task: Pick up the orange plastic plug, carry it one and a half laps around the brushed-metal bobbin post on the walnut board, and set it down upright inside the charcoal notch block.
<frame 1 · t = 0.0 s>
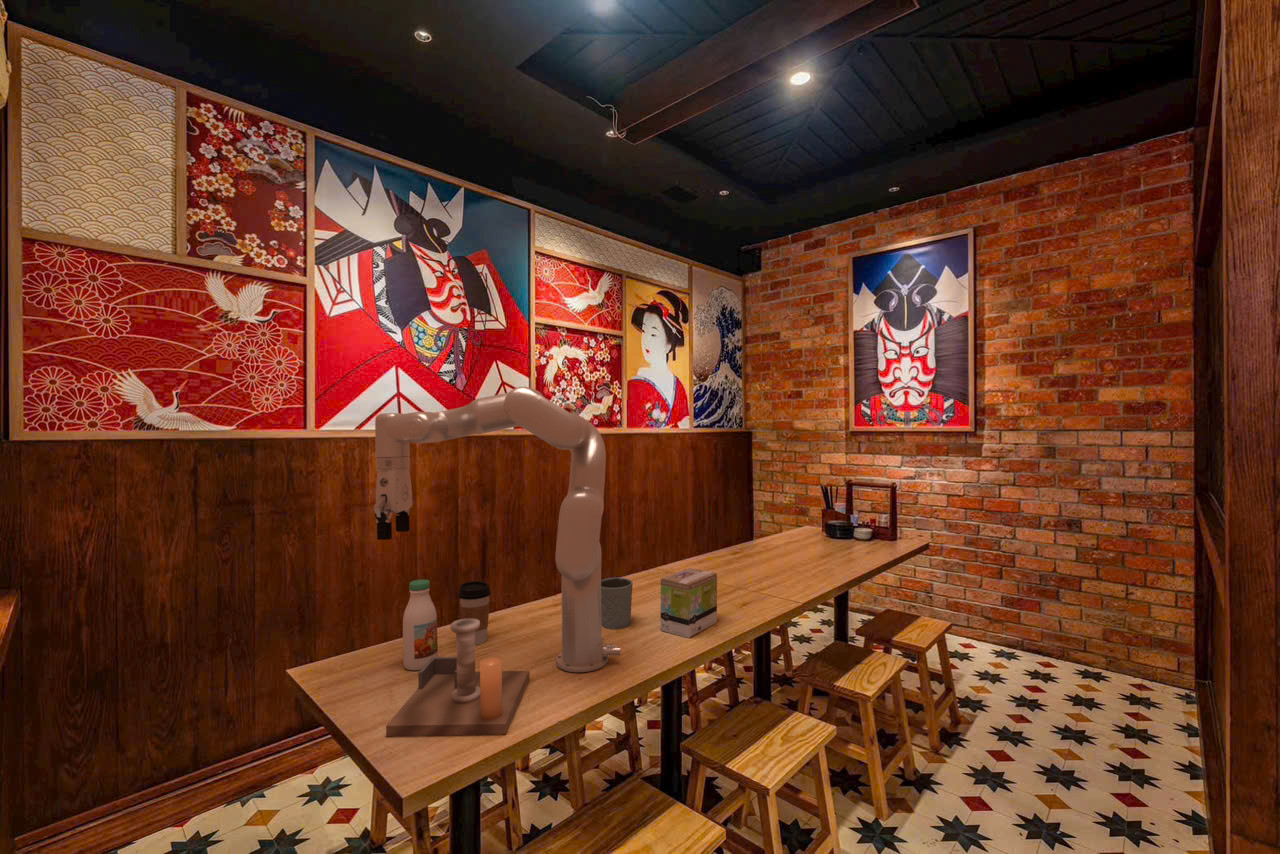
hand: (394, 535, 132), 31 cm above the table, tool pointing down, fingers open, 9 cm apart
coffee cup: (475, 641, 146), on the table
tea box: (689, 627, 154), on the table
plug: (491, 714, 104), point 2 cm above the table, touching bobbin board
milk bottle: (420, 665, 132), on the table
grey green embossed cup: (615, 624, 157), on the table
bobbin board: (464, 705, 112), on the table
notch block: (444, 681, 118), resting on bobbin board
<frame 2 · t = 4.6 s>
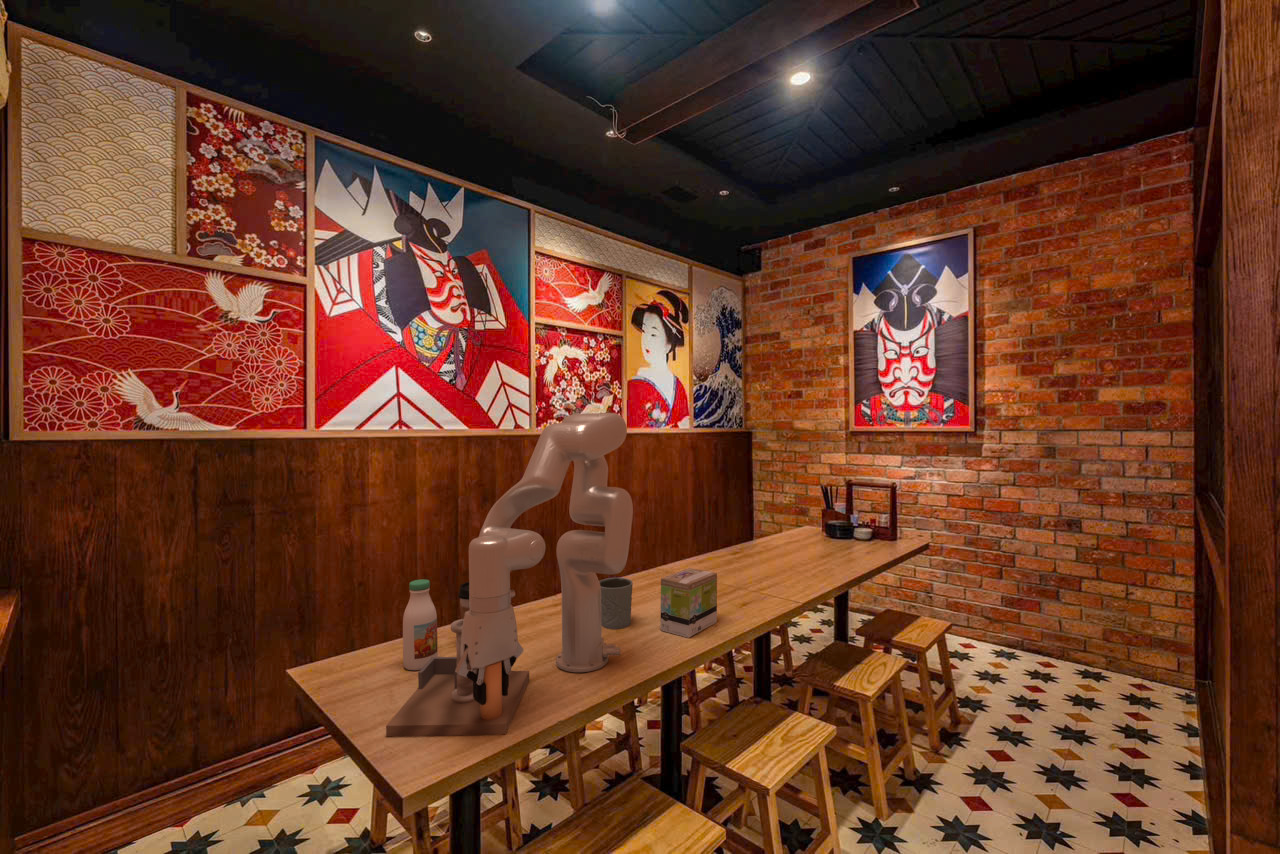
hand: (491, 696, 104), 5 cm above the table, tool pointing down, fingers closed on plug, 4 cm apart
plug: (491, 714, 104), point 2 cm above the table, touching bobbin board, gripper
everything else where it was.
when the fingers open (7 cm above the table, at t = 14.0 s): plug drops 2 cm, resting on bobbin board.
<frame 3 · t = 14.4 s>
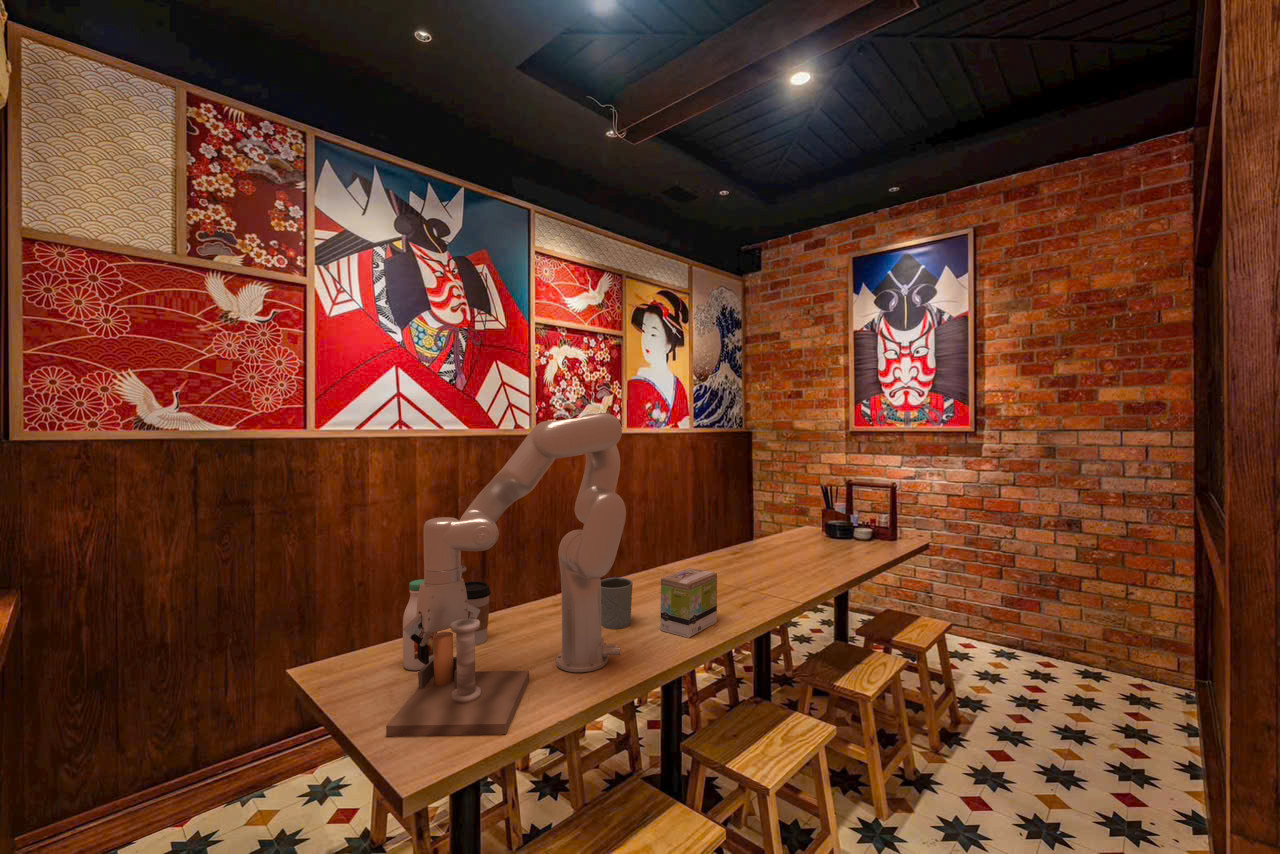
hand: (443, 655, 118), 8 cm above the table, tool pointing down, fingers open, 8 cm apart
plug: (443, 681, 118), point 2 cm above the table, touching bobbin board
everything else where it was.
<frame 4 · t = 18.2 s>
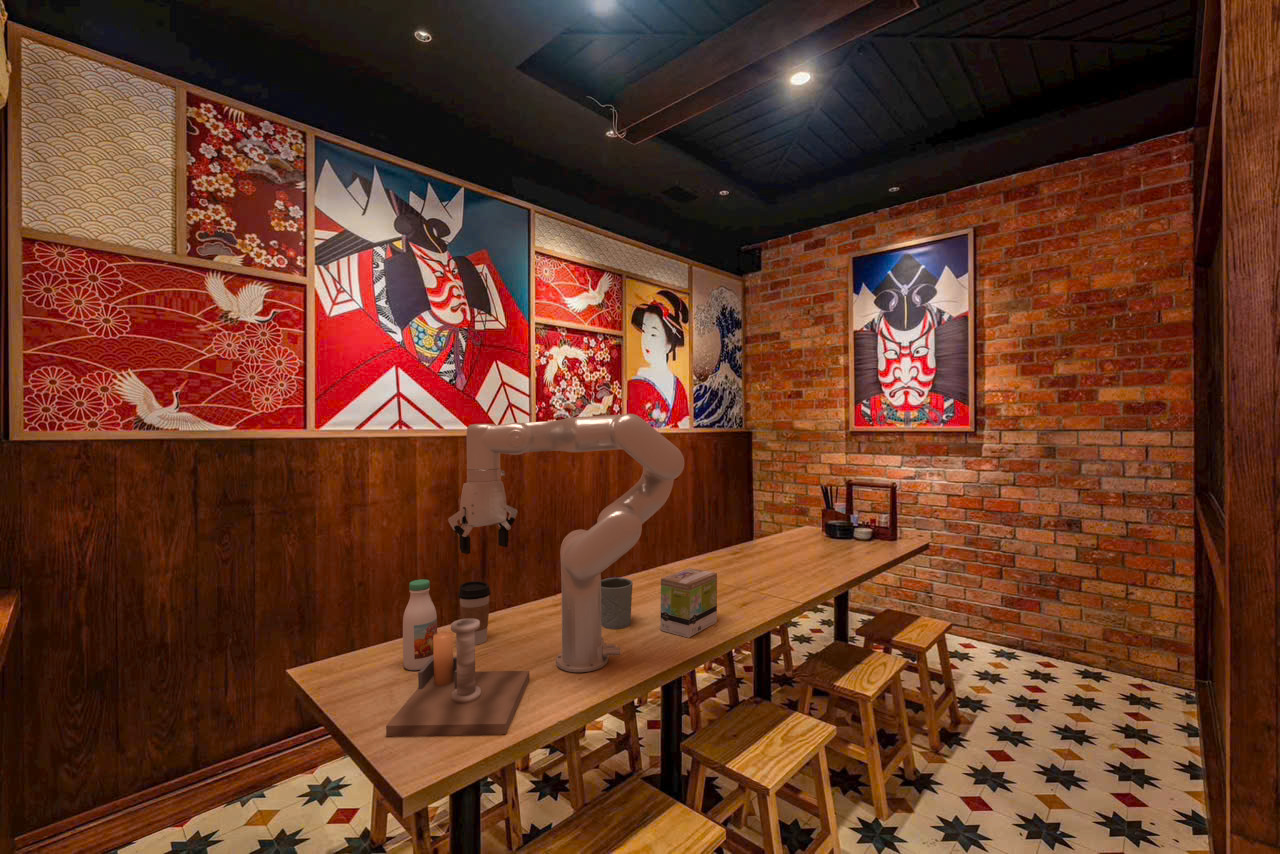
hand: (484, 549, 128), 28 cm above the table, tool pointing down, fingers open, 9 cm apart
nothing on the table moved.
at the end: plug 0.1 cm from the notch block (horizontally); plug tilted 0°; plug point 2.0 cm above the table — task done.
